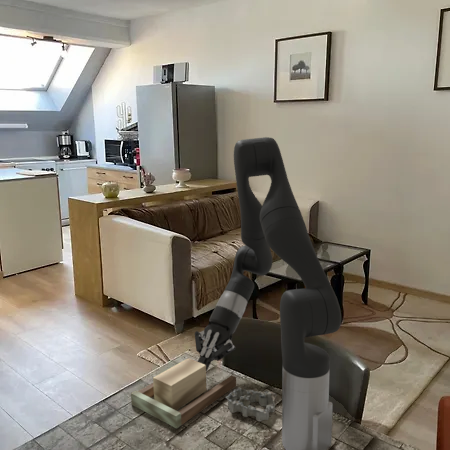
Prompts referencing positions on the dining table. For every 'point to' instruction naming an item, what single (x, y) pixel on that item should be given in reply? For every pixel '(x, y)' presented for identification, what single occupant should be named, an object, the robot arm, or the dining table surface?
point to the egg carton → (251, 396)
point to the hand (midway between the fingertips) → (199, 372)
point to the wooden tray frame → (178, 418)
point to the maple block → (180, 384)
